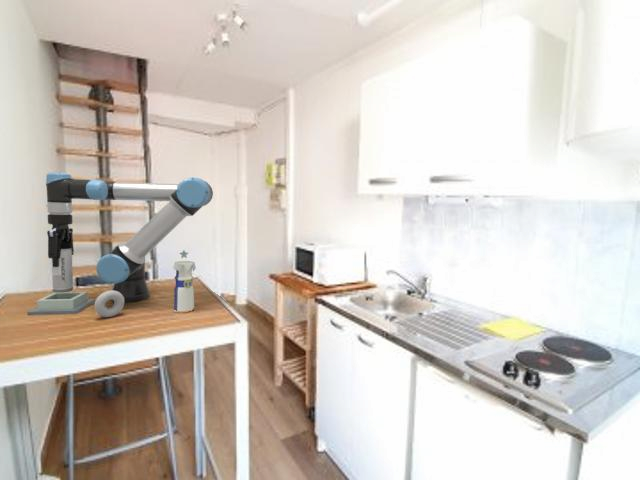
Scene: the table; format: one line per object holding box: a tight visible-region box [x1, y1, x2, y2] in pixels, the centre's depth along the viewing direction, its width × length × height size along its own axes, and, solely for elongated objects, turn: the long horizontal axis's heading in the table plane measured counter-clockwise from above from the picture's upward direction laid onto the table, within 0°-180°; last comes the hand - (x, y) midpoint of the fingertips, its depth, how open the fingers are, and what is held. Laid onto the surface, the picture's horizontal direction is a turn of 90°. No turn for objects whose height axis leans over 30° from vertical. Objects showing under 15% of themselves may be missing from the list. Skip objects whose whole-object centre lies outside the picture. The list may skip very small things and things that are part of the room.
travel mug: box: [51, 241, 74, 293], centre depth 132 cm, size 6×7×20 cm
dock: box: [27, 291, 96, 316], centre depth 134 cm, size 16×16×5 cm
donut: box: [93, 289, 126, 318], centre depth 125 cm, size 10×3×10 cm, turn 143°
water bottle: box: [172, 249, 196, 311], centre depth 136 cm, size 8×8×25 cm
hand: (62, 273), depth 132 cm, fingers closed on travel mug, 6 cm apart
